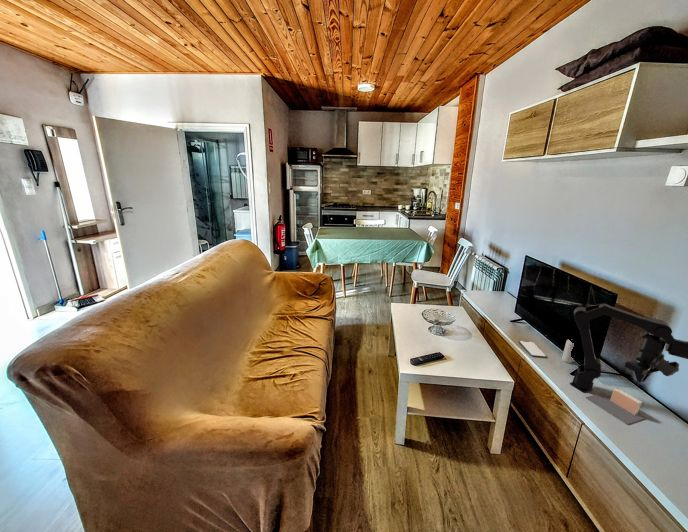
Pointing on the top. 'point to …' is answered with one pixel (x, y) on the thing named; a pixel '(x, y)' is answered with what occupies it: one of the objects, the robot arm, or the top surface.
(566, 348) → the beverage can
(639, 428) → the top surface
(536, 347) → the phone case
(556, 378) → the top surface
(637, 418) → the mat
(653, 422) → the top surface
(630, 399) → the block
